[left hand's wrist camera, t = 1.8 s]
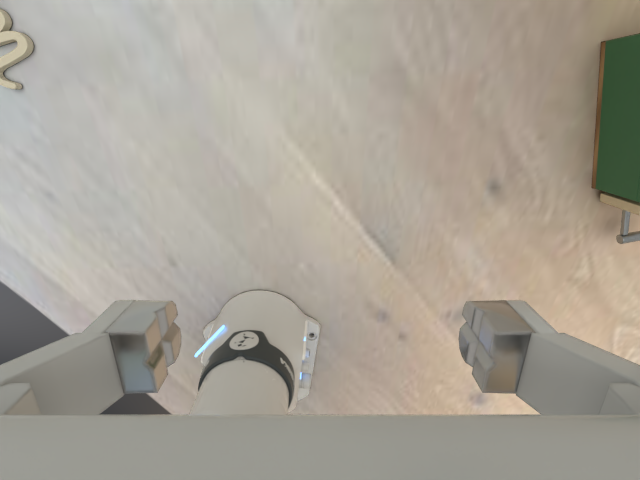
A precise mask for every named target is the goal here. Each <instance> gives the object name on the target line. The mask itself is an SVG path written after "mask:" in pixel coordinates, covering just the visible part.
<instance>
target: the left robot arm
mask: <svg viewBox="0 0 640 480" xmlns="http://www.w3.org/2000/svg"><path fill="white" fill-rule="evenodd" d="M177 315H178V313H177V309H176V304H175V303H174V302H173V301H149V300H137V301H136V300H119V301H115V302H114V303H113V304H112V305H111V306H110V307H109V308H108V309H106V310H105V311H104V312H103V313H102V314H101V315H100V316H99V317H98V318H97V319H96V320H95V321H94V322H93V323H92V324H91V325H90V326H89V327H88V328H86V329H85V330H84V331H83V332H82V333H75V334H72V335H70V336H68V337H65V338H63V339H61V340H58V341H56V342H54V343H51V344H49V345H47V346H44V347H42V348H40V349H37V350H35V351H33V352H30V353H28V354H25V355H23V356H21V357H18V358H16V359H14V360H11V361H9V362H7V363H4V364H2V365H0V480H640V365H638V364H636V363H633V362H631V361H629V360H626V359H624V358H621V357H619V356H617V355H614V354H612V353H610V352H607V351H605V350H603V349H600V348H598V347H596V346H593V345H591V344H589V343H586V342H584V341H582V340H579V339H577V338H575V337H572V336H570V335H568V334H565V333H558V332H557V331H556V330H555V329H554V328H553V327H551V326H550V325H549V324H548V323H547V322H546V321H545V320H544V319H543V318H542V317H541V316H540V315H539V314H538V313H537V312H536V311H535V310H534V309H533V308H532V307H530V306H529V305H528V304H527V303H526V302H525V301H522V300H501V301H468V302H466V303H465V305H464V308H463V313H462V315H463V317H464V318H465V320H466V321H467V322H466V323H465V324H464V325H463V326H462V327H461V328H460V332H459V348H460V352H461V355H462V357H463V359H464V361H465V362H466V363H467V364H469V365H470V366H472V367H473V370H472V375H473V377H474V379H475V380H476V382H477V384H478V386H479V387H480V389H481V391H482V393H515V394H516V395H517V396H518V397H519V398H521V399H522V400H523V401H524V402H526V403H527V404H528V405H530V406H531V407H532V408H534V409H535V410H536V411H537V412H539V413H540V414H541V415H288V413H289V412H291V411H293V410H294V409H295V408H296V404H297V401H299V400H301V399H303V398H305V397H307V396H308V395H309V391H310V386H311V380H312V374H313V368H314V363H315V357H316V351H317V345H318V339H319V334H320V324H319V322H318V321H316V320H315V319H313V318H311V317H309V316H307V315H305V314H304V313H303V312H302V311H301V310H300V309H299V308H298V307H297V306H296V305H295V304H294V303H293V302H292V301H291V300H289V299H288V298H286V297H284V296H282V295H280V294H278V293H275V292H271V291H264V290H255V291H248V292H244V293H242V294H239V295H237V296H235V297H234V298H232V299H231V300H229V301H228V302H227V303H226V304H225V306H224V307H223V308H222V310H221V312H220V313H219V315H218V317H217V318H216V319H215V320H213V321H212V322H210V323H209V324H207V325H206V326H205V328H204V331H203V336H204V338H205V341H206V343H205V344H204V345H203V346H202V347H201V348H200V350H199V351H198V352H197V353H196V354H195V357H197V356H198V355H199V354H200V353H201V352H202V351H203V350H204V351H203V353H202V356H201V363H202V364H203V366H204V368H203V371H202V373H201V378H200V381H199V387H198V394H197V397H196V399H195V401H194V404H193V406H192V408H191V411H190V413H189V415H99V414H100V413H101V412H103V411H104V410H105V409H107V408H108V407H109V406H110V405H112V404H113V403H114V402H116V401H117V400H118V399H120V398H121V397H122V396H123V395H124V394H125V393H158V391H159V389H160V387H161V386H162V384H163V382H164V380H165V379H166V377H167V375H168V370H167V367H168V366H170V365H171V364H173V363H174V362H175V361H176V359H177V357H178V355H179V351H180V347H181V331H180V328H179V327H178V326H177V325H176V324H175V323H174V322H173V321H174V320H175V318H176V317H177ZM310 333H313V335H310Z"/></svg>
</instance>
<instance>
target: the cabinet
mask: <svg viewBox="0 0 640 480" xmlns="http://www.w3.org/2000/svg"><path fill="white" fill-rule="evenodd" d="M592 188H594V189H598V190H601V191H604V192H608V193H611V194H614V195H617V196H620V197H624V198H627V199H630V200H633V201H637V202H640V33H639V34H635V35H630V36H626V37H621V38H617V39H612V40H608V41H603V42H601V55H600V70H599V85H598V100H597V115H596V131H595V146H594V161H593V176H592Z"/></svg>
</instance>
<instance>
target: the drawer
mask: <svg viewBox="0 0 640 480" xmlns="http://www.w3.org/2000/svg"><path fill="white" fill-rule="evenodd" d="M600 202H603V203H606V204H609V205H611V206H614V207H617V208H620V209H623V210H622V220H621V230H620V234H621V235H618V236H617V237H616V240H617V242H618V243H620V244H624V243H629V242H635V241H640V231H637V232H632V233H628V229H629V219H630V212H631V213H634V214H637V215H640V202H637V201H633V200H630V199H627V198H624V197H620V196H617V195H614V194H611V193H608V192H605V193H601V196H600Z"/></svg>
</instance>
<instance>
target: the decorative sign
mask: <svg viewBox="0 0 640 480" xmlns="http://www.w3.org/2000/svg"><path fill="white" fill-rule="evenodd" d="M11 25H12V21H11V18H10V16H9V15H8V13H7V12H6V11H4V10H2V9H0V46H2V45H5V44H9V43H12V42H16V41H17V43H18V46H17V47H16V48H15V49H14V50H13V51H11V52H10V53H8V54H6V55H4V56H2V57H0V85H2V86H5V87H7V88H11V89H22V85H21V84H20V83H16V82H13V81H10V80H8V79H6V78H5V77H4V76H3V72H4V71H5V70H6V69H7V68H9V67H11V66H12V65H14V64H16V63H18V62H20V61H21V60H23V59H25V58H27V57H28V56H29V55H30V54H31V53H32V51H33V47H34V46H33V42H32V40H31V39H30V38H29V37H28V36H27V35H25V34H23V33H20V32H15V31H9V30H10V28H11Z"/></svg>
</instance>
